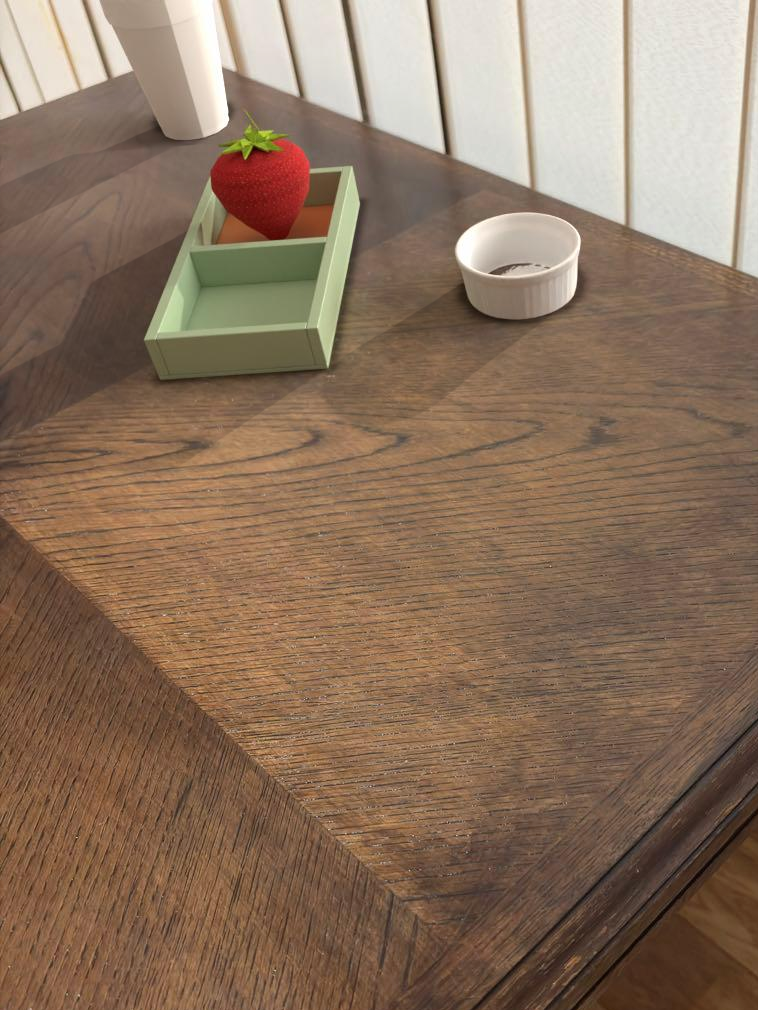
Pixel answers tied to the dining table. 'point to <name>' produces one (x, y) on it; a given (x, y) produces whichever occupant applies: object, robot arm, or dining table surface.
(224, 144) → the strawberry
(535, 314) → the ramekin
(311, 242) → the tray
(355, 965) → the dining table surface
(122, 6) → the foam cup
